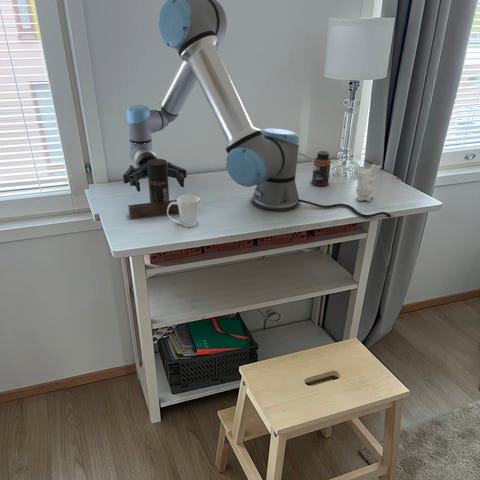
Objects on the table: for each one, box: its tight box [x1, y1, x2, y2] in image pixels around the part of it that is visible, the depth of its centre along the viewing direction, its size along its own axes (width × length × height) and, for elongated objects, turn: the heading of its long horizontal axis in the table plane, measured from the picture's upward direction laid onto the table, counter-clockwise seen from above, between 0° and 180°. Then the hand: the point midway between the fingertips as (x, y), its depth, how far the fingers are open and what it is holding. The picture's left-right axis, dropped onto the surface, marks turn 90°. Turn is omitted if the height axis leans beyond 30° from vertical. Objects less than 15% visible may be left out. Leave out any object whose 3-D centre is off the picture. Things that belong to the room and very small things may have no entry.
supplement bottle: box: [311, 150, 332, 187], centre depth 175 cm, size 6×6×11 cm
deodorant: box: [147, 158, 170, 203], centre depth 152 cm, size 6×6×15 cm
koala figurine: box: [355, 164, 382, 202], centre depth 164 cm, size 8×7×12 cm
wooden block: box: [127, 199, 179, 220], centre depth 152 cm, size 21×2×4 cm, turn 110°
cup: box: [166, 193, 201, 228], centre depth 145 cm, size 7×10×8 cm
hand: (160, 185), depth 148 cm, fingers open, 13 cm apart
